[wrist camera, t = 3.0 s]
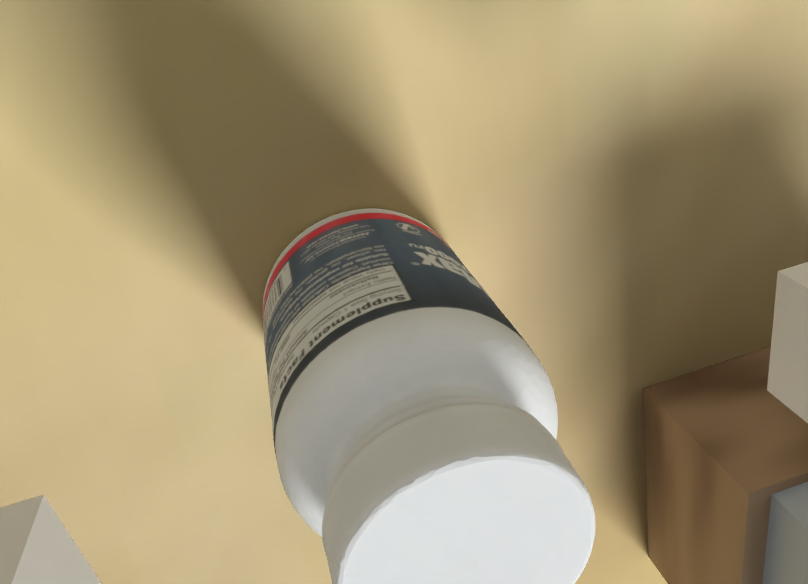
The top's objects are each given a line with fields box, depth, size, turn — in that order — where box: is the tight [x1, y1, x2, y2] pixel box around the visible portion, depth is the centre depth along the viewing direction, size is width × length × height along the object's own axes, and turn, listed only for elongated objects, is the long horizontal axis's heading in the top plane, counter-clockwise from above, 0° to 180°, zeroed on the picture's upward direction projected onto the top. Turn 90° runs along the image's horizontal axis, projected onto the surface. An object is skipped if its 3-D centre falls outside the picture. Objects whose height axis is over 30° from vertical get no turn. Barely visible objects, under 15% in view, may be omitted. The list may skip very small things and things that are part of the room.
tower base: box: [643, 346, 808, 584], centre depth 21 cm, size 8×8×5 cm
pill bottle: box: [263, 208, 595, 584], centre depth 13 cm, size 5×5×9 cm
